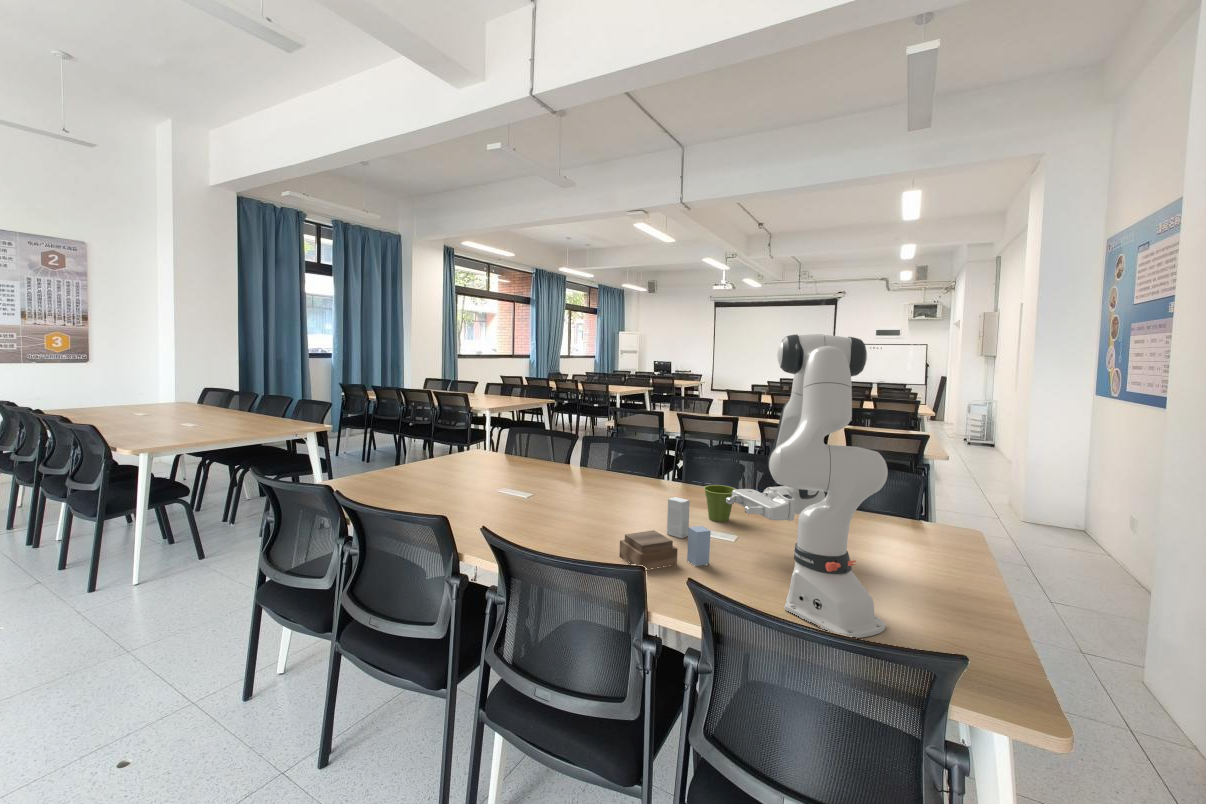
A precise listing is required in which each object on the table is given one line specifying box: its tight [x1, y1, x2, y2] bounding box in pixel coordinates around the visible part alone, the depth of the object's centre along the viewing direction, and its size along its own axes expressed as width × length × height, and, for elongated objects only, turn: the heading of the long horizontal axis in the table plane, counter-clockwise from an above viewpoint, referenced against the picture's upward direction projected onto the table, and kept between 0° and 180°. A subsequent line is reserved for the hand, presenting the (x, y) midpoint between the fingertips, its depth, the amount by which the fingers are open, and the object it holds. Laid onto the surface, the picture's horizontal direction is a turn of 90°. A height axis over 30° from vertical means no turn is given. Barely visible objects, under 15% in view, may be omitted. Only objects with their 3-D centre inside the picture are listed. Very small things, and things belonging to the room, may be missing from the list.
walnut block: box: [619, 529, 679, 570], centre depth 157 cm, size 12×12×7 cm
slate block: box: [686, 525, 711, 567], centre depth 156 cm, size 4×4×10 cm
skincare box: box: [666, 496, 691, 539], centre depth 179 cm, size 6×4×12 cm
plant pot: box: [703, 484, 736, 523], centre depth 197 cm, size 12×12×11 cm
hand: (736, 505), depth 159 cm, fingers open, 8 cm apart
